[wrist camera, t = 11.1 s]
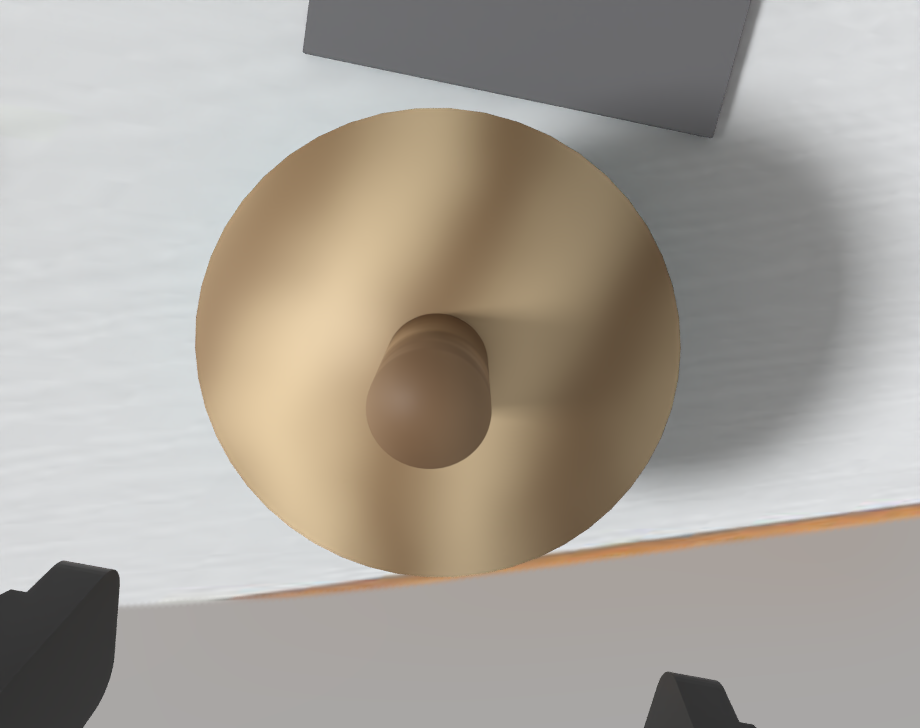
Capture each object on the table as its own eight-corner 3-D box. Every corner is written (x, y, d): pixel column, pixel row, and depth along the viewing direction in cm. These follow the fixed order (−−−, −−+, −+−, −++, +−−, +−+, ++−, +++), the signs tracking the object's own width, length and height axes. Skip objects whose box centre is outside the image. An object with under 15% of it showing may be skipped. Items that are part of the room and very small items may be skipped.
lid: (729, 165, 25) (810, 167, 19) (607, 594, 30) (641, 705, 24) (233, 63, 24) (156, 33, 18) (186, 518, 29) (112, 612, 23)
